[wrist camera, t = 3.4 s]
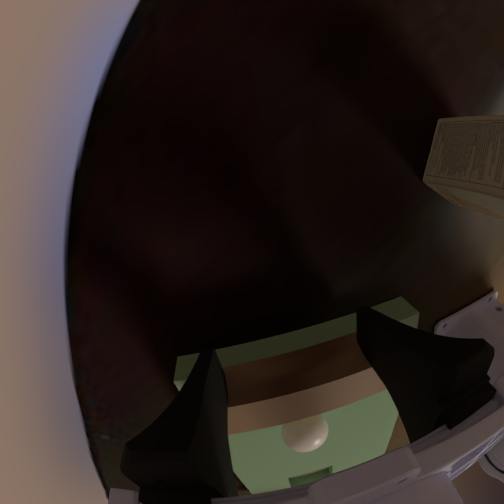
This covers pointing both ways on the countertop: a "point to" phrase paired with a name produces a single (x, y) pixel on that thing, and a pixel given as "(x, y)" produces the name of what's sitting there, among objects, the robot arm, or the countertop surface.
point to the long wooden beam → (298, 384)
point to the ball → (305, 433)
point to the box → (469, 163)
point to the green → (339, 420)
